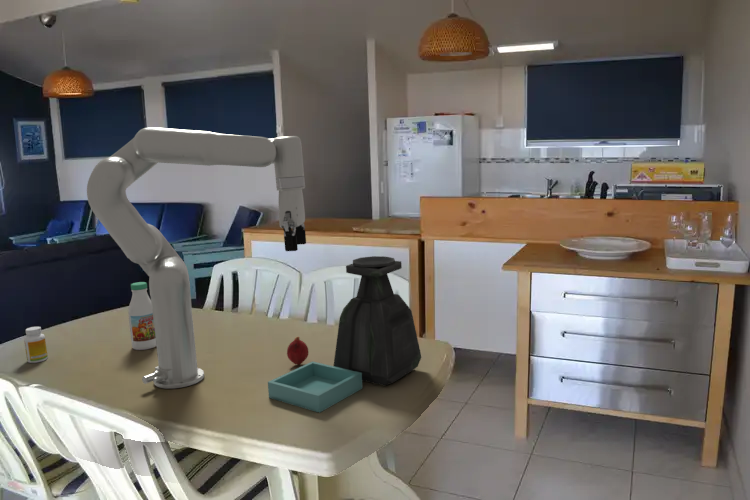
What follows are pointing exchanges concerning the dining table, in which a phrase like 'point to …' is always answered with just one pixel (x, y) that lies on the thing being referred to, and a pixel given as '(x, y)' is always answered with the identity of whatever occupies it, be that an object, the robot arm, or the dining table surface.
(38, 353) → the supplement bottle
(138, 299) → the milk bottle
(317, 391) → the serving dish
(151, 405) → the dining table surface
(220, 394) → the dining table surface
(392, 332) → the bottle
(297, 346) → the onion
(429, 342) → the dining table surface
